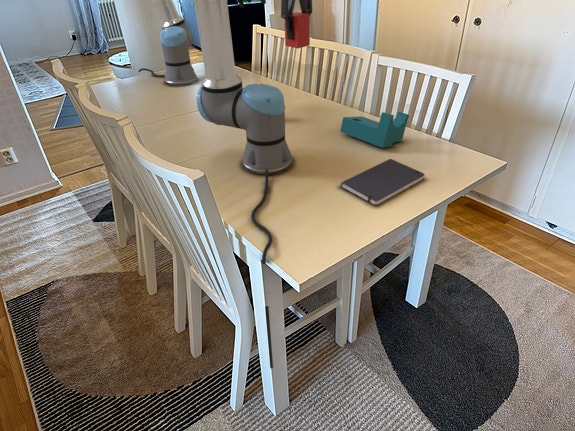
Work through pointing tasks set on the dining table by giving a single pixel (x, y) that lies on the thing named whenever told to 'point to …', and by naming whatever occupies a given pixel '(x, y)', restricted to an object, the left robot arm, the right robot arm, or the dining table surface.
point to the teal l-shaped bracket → (376, 128)
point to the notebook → (382, 181)
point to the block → (299, 31)
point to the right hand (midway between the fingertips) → (297, 37)
